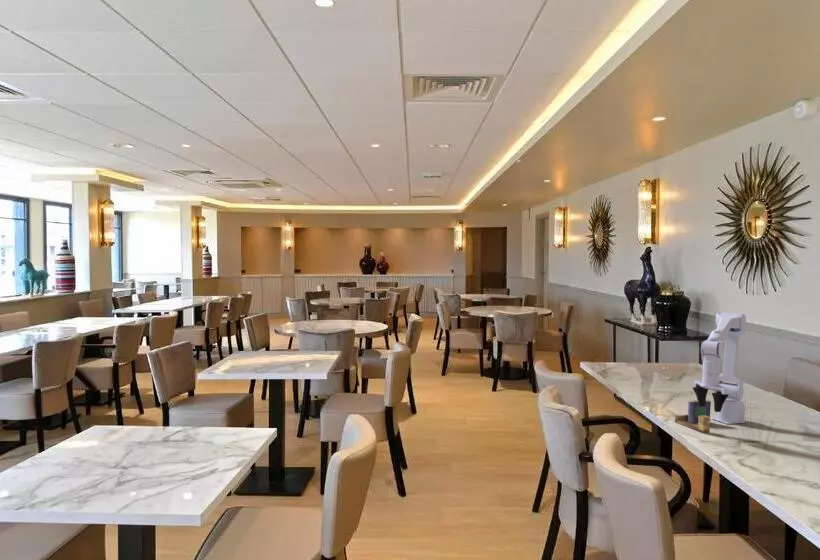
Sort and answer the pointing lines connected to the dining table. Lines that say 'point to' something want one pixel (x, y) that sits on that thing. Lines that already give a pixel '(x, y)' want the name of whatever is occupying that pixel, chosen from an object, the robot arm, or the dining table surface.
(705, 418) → the wooden t-shaped handle
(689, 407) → the flask
